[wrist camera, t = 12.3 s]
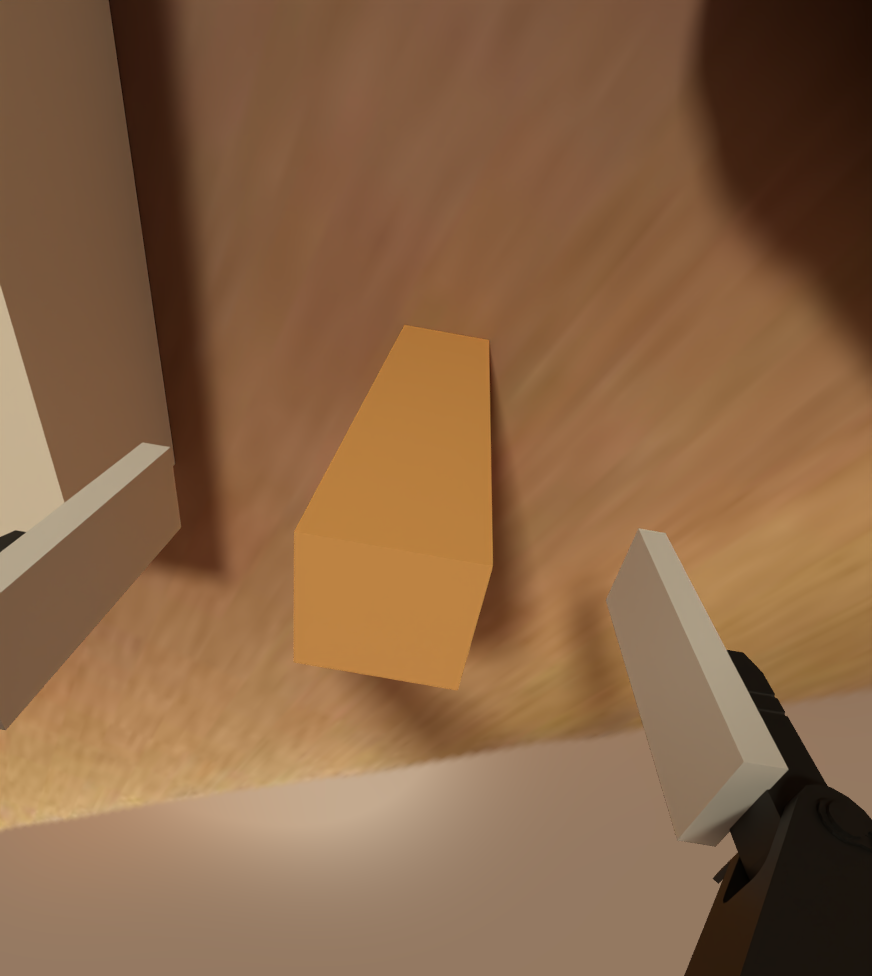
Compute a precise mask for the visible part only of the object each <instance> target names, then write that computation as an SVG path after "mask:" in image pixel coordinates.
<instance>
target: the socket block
mask: <svg viewBox="0 0 872 976" xmlns="http://www.w3.org/2000/svg"><path fill="white" fill-rule="evenodd" d="M141 443H149V444H154V445H160V446H166V447H170V448H171V456H172V463H173V466H174V465H175V458H174V451H173V444H172V437H171V431H170V424H169V417H168V410H167V403H166V396H165V389H164V382H163V375H162V368H161V361H160V354H159V347H158V340H157V333H156V326H155V319H154V312H153V305H152V298H151V291H150V284H149V277H148V270H147V263H146V257H145V250H144V243H143V236H142V229H141V222H140V215H139V208H138V201H137V194H136V187H135V180H134V173H133V166H132V159H131V152H130V145H129V138H128V131H127V124H126V117H125V110H124V103H123V96H122V89H121V83H120V76H119V69H118V62H117V55H116V48H115V41H114V34H113V27H112V20H111V13H110V6H109V0H0V537H1V536H3V535H6V534H8V533H10V532H12V531H15V530H17V531H23V532H27V531H29V530H30V529H31V528H32V527H34V526H35V525H36V524H38V523H39V522H40V521H42V520H43V519H44V518H45V517H47V516H48V515H49V514H51V513H52V512H53V511H54V510H56V509H57V508H58V507H60V506H61V505H62V504H64V503H65V502H66V501H67V500H69V499H70V498H71V497H73V496H74V495H75V494H77V493H78V492H79V491H80V490H82V489H83V488H84V487H86V486H87V485H88V484H89V483H91V482H92V481H93V480H95V479H96V478H97V477H99V476H100V475H101V474H102V473H104V472H105V471H106V470H108V469H109V468H110V467H111V466H113V465H114V464H115V463H117V462H118V461H119V460H121V459H122V458H123V457H124V456H126V455H127V454H128V453H130V452H131V451H132V450H134V449H135V448H136V447H137V446H139V445H140V444H141Z"/></svg>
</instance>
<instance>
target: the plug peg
mask: <svg viewBox="0 0 872 976" xmlns="http://www.w3.org/2000/svg"><path fill="white" fill-rule="evenodd" d="M492 568H493V538H492V481H491V423H490V366H489V340H486V339H481V338H475V337H470V336H464V335H459V334H453V333H447V332H442V331H436V330H431V329H425V328H420V327H414V326H408V325H404V327H403V328H402V330H401V332H400V334H399V336H398V338H397V340H396V342H395V343H394V345H393V347H392V349H391V351H390V353H389V355H388V357H387V358H386V360H385V362H384V364H383V366H382V368H381V370H380V372H379V373H378V375H377V377H376V379H375V381H374V383H373V385H372V387H371V388H370V390H369V392H368V394H367V396H366V398H365V400H364V402H363V403H362V405H361V407H360V409H359V411H358V413H357V415H356V416H355V418H354V420H353V422H352V424H351V426H350V428H349V430H348V431H347V433H346V435H345V437H344V439H343V441H342V443H341V445H340V446H339V448H338V450H337V452H336V454H335V456H334V458H333V460H332V461H331V463H330V465H329V467H328V469H327V471H326V473H325V475H324V476H323V478H322V480H321V482H320V484H319V486H318V488H317V490H316V491H315V493H314V495H313V497H312V499H311V501H310V503H309V505H308V506H307V508H306V510H305V512H304V514H303V516H302V518H301V520H300V521H299V523H298V525H297V527H296V529H295V531H294V662H295V663H301V664H307V665H312V666H318V667H324V668H330V669H336V670H342V671H347V672H353V673H359V674H365V675H371V676H376V677H382V678H388V679H394V680H400V681H406V682H411V683H417V684H423V685H429V686H435V687H440V688H446V689H452V690H458V688H459V684H460V681H461V677H462V674H463V670H464V666H465V663H466V659H467V656H468V652H469V649H470V645H471V642H472V638H473V635H474V631H475V628H476V624H477V621H478V617H479V614H480V610H481V607H482V603H483V600H484V596H485V593H486V589H487V586H488V582H489V579H490V575H491V572H492Z"/></svg>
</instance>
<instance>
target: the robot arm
mask: <svg viewBox="0 0 872 976" xmlns="http://www.w3.org/2000/svg"><path fill="white" fill-rule="evenodd" d="M180 528H181V521H180V514H179V507H178V499H177V492H176V485H175V478H174V470H173V463H172V456H171V448H170V447H166V446H160V445H154V444H149V443H141V444H140V445H139V446H137V447H136V448H135V449H134V450H132V451H131V452H130V453H128V454H127V455H126V456H124V457H123V458H122V459H121V460H119V461H118V462H117V463H115V464H114V465H113V466H111V467H110V468H109V469H108V470H106V471H105V472H104V473H102V474H101V475H100V476H99V477H97V478H96V479H95V480H93V481H92V482H91V483H89V484H88V485H87V486H86V487H84V488H83V489H82V490H80V491H79V492H78V493H77V494H75V495H74V496H73V497H71V498H70V499H69V500H67V501H66V502H65V503H64V504H62V505H61V506H60V507H58V508H57V509H56V510H54V511H53V512H52V513H51V514H49V515H48V516H47V517H45V518H44V519H43V520H42V521H40V522H39V523H38V524H36V525H35V526H34V527H32V528H31V529H30V530H29V531H27V532H23V531H17V530H15V531H12V532H10V533H8V534H6V535H3V536H1V537H0V729H2V730H6V729H7V728H8V727H9V726H10V725H11V724H12V722H13V721H14V720H15V719H16V718H17V717H18V715H19V714H20V713H21V712H22V711H23V710H24V709H25V707H26V706H27V705H28V704H29V703H30V702H31V700H32V699H33V698H34V697H35V696H36V695H37V693H38V692H39V691H40V690H41V689H42V688H43V687H44V685H45V684H46V683H47V682H48V681H49V680H50V678H51V677H52V676H53V675H54V674H55V673H56V672H57V670H58V669H59V668H60V667H61V666H62V665H63V663H64V662H65V661H66V660H67V659H68V658H69V657H70V655H71V654H72V653H73V652H74V651H75V650H76V648H77V647H78V646H79V645H80V644H81V643H82V642H83V640H84V639H85V638H86V637H87V636H88V635H89V633H90V632H91V631H92V630H93V629H94V628H95V627H96V625H97V624H98V623H99V622H100V621H101V620H102V618H103V617H104V616H105V615H106V614H107V613H108V612H109V610H110V609H111V608H112V607H113V606H114V605H115V603H116V602H117V601H118V600H119V599H120V598H121V597H122V595H123V594H124V593H125V592H126V591H127V590H128V588H129V587H130V586H131V585H132V584H133V583H134V582H135V580H136V579H137V578H138V577H139V576H140V575H141V573H142V572H143V571H144V570H145V569H146V568H147V566H148V565H149V564H150V563H151V562H152V561H153V560H154V558H155V557H156V556H157V555H158V554H159V553H160V551H161V550H162V549H163V548H164V547H165V546H166V545H167V543H168V542H169V541H170V540H171V539H172V538H173V536H174V535H175V534H176V533H177V532H178V531H179V530H180ZM606 602H607V605H608V609H609V612H610V616H611V619H612V622H613V626H614V629H615V632H616V636H617V639H618V643H619V646H620V649H621V653H622V656H623V659H624V663H625V666H626V670H627V673H628V676H629V680H630V683H631V686H632V690H633V693H634V696H635V700H636V703H637V707H638V710H639V713H640V717H641V720H642V723H643V727H644V730H645V734H646V737H647V740H648V743H649V747H650V750H651V753H652V757H653V761H654V763H655V767H656V771H657V774H658V777H659V781H660V784H661V788H662V791H663V794H664V798H665V801H666V804H667V808H668V811H669V814H670V818H671V821H672V825H673V828H674V831H675V835H676V838H677V840H679V841H684V842H691V843H697V844H703V845H709V846H717V844H718V843H719V842H720V841H721V840H722V839H723V838H724V837H725V836H726V835H727V834H728V833H729V832H731V835H732V838H733V840H734V843H735V845H736V848H737V850H738V853H737V854H736V855H735V856H734V857H733V858H732V859H731V860H730V861H729V862H728V863H727V864H726V865H725V866H724V867H723V868H722V869H721V870H720V871H719V872H718V873H717V874H716V875H715V877H714V878H713V879H714V880H715V881H716V882H717V883H719V882H721V881H722V880H723V881H722V883H721V886H720V888H719V891H718V893H717V896H716V898H715V901H714V903H713V906H712V908H711V911H710V913H709V916H708V918H707V921H706V923H705V925H704V928H703V931H702V933H701V935H700V938H699V940H698V943H697V945H696V948H695V950H694V953H693V955H692V958H691V960H690V963H689V965H688V968H687V970H686V973H685V975H684V976H872V820H871V818H870V817H869V816H868V815H867V814H866V812H865V811H864V810H863V809H862V808H860V807H859V806H858V805H857V804H856V803H854V802H853V801H852V800H851V799H850V798H849V797H847V796H845V795H843V794H842V793H840V792H838V791H836V790H835V789H832V788H830V787H828V786H827V784H826V783H825V781H824V779H823V778H822V776H821V774H820V772H819V771H818V769H817V767H816V765H815V764H814V762H813V760H812V758H811V757H810V755H809V753H808V751H807V750H806V748H805V746H804V744H803V743H802V741H801V739H800V737H799V736H798V734H797V732H796V730H795V729H794V727H793V725H792V723H791V722H790V720H789V718H788V717H787V716H785V711H784V709H783V708H782V706H781V704H780V702H779V701H778V699H777V698H775V697H774V695H775V694H774V692H773V690H772V688H771V687H770V685H769V683H768V681H767V680H766V678H765V676H764V674H763V673H762V672H761V671H760V670H759V668H758V667H757V666H756V665H755V664H754V663H753V662H752V661H751V660H750V659H749V658H748V657H747V656H746V655H745V654H744V653H742V652H736V651H730V650H726V648H725V646H724V644H723V643H722V641H721V639H720V637H719V635H718V633H717V631H716V629H715V627H714V625H713V623H712V621H711V620H710V618H709V616H708V614H707V612H706V610H705V608H704V606H703V604H702V602H701V600H700V598H699V597H698V595H697V593H696V591H695V589H694V587H693V585H692V583H691V581H690V579H689V577H688V575H687V574H686V572H685V570H684V568H683V566H682V564H681V562H680V560H679V558H678V556H677V554H676V552H675V551H674V549H673V547H672V545H671V543H670V541H669V539H668V537H667V535H666V533H662V532H656V531H650V530H644V529H639V528H638V531H637V533H636V535H635V537H634V539H633V542H632V544H631V546H630V548H629V550H628V553H627V555H626V557H625V559H624V561H623V564H622V566H621V568H620V570H619V572H618V575H617V577H616V579H615V581H614V583H613V586H612V588H611V590H610V592H609V594H608V596H607V599H606Z"/></svg>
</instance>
